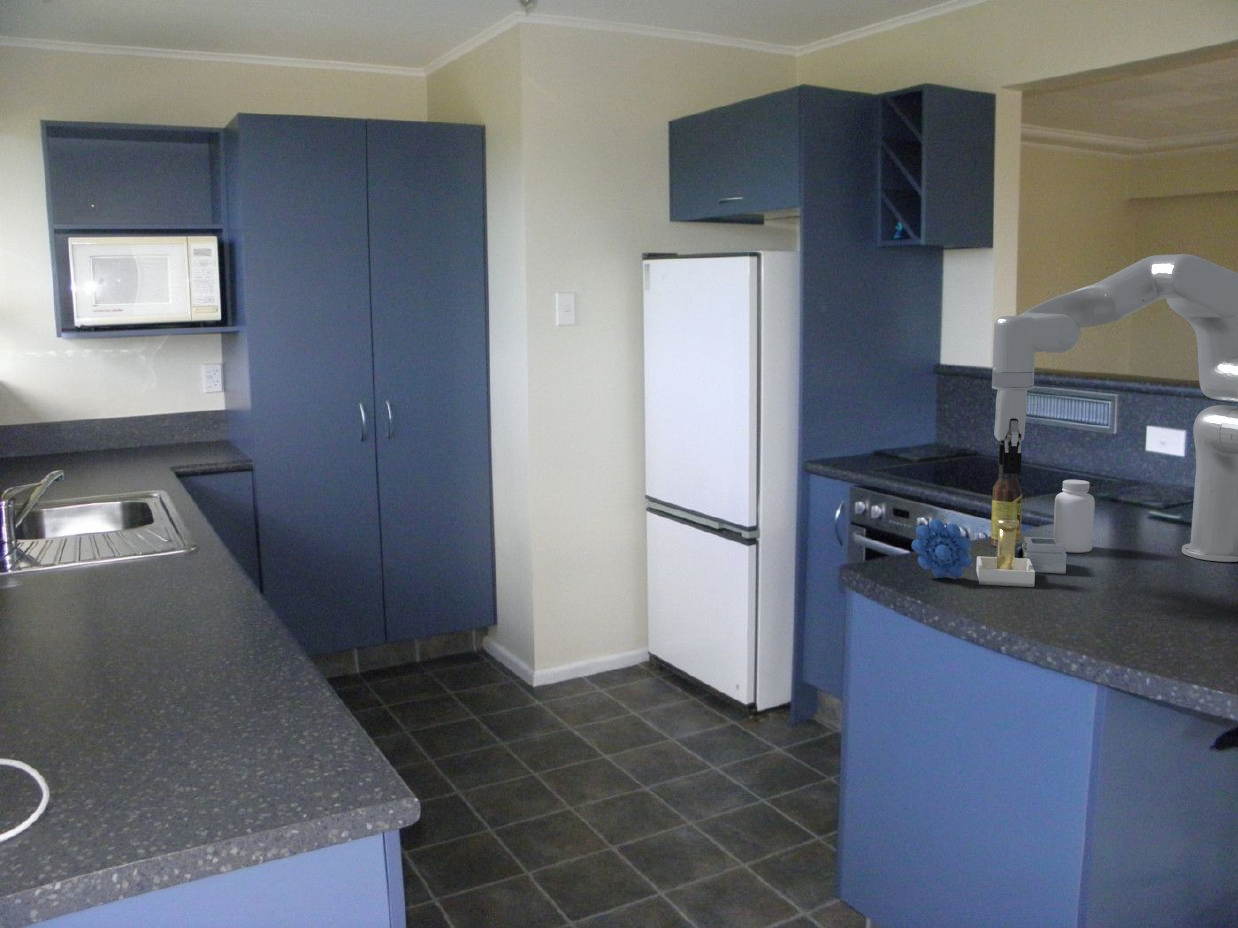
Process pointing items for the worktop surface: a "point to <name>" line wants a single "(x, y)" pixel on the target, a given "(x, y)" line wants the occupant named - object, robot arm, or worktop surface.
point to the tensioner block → (1042, 554)
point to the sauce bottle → (1006, 502)
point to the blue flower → (942, 549)
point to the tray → (1005, 572)
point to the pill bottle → (1074, 516)
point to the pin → (1006, 543)
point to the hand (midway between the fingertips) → (1009, 468)
